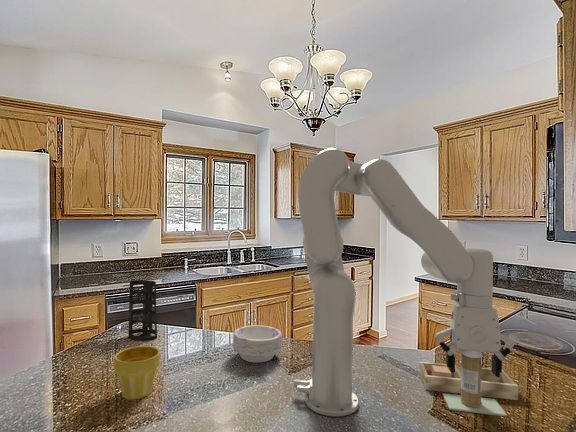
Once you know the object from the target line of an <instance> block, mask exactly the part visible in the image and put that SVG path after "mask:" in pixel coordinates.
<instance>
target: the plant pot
mask: <svg viewBox="0 0 576 432" xmlns="http://www.w3.org/2000/svg"><path fill="white" fill-rule="evenodd" d="M160 364H161V350H160V349H159V347H156V346H152V345H139V346H132V347H128V348H125V349H122V350H120V351H119V352H118V351H117V353H116V354H115V355H114V359H113V365H114V366H113V369H114V370H113V371H114V372H115V374H117V378H118V382H119V385H120V387H119V388H120V391H121V392H120V393H121V396H122V397H123V398H124V399H126V400H130V401H131V400H134V401H135V400H138V399H142V398H145V397H147V396H149V394H151V393H152V390H153V386H154V381H155V377H156V374H157V369H158V368H159V366H160Z"/></svg>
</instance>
